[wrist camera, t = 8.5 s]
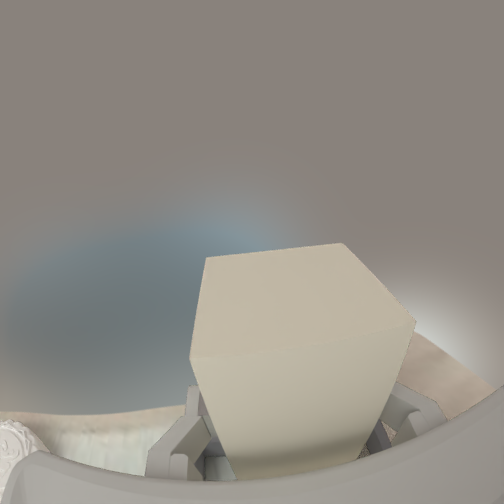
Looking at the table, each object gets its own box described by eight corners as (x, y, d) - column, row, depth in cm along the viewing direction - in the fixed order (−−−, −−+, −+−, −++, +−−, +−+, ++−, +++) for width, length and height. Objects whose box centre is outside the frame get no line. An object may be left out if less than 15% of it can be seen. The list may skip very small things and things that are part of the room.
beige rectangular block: (247, 500, 10) (189, 358, 5) (242, 431, 14) (206, 257, 10) (339, 484, 10) (416, 321, 5) (320, 420, 14) (342, 242, 10)
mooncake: (60, 526, 8) (34, 514, 6) (-14, 504, 5) (-36, 489, 3) (60, 434, 18) (42, 416, 17) (-4, 431, 15) (-21, 413, 14)
